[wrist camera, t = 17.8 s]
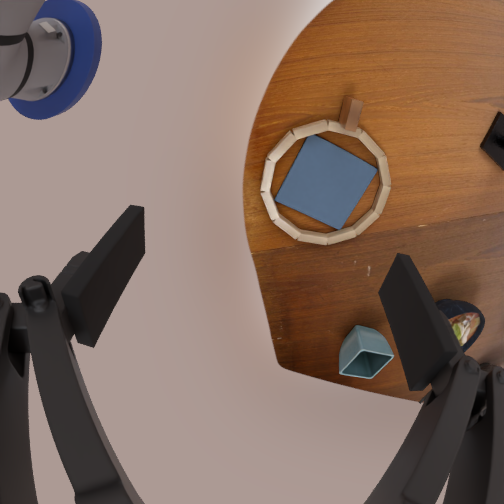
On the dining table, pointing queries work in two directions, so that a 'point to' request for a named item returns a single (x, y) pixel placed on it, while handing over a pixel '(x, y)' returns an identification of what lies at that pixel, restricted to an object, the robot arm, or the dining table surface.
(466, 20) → the dining table surface
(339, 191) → the mat
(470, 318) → the bowl
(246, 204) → the dining table surface
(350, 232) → the segmented ring with tab
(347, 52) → the dining table surface
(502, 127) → the post on square base
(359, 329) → the flower pot
